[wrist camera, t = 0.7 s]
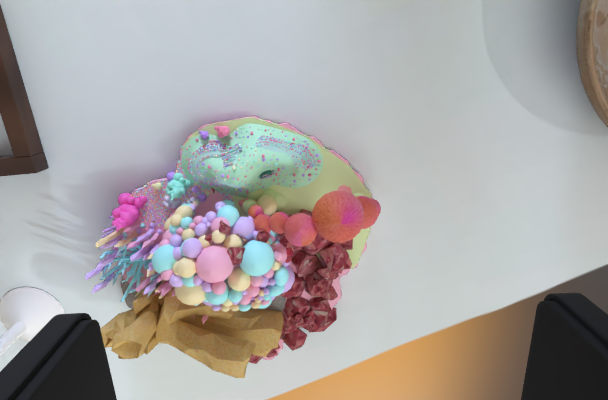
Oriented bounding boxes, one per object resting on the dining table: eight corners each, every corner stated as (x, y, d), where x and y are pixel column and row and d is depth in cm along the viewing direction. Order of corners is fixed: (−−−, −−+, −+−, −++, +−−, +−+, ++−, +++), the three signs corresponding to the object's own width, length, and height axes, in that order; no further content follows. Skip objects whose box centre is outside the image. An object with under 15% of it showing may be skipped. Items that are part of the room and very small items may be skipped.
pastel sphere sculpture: (315, 371, 44) (321, 447, 35) (97, 320, 41) (44, 388, 33) (397, 156, 37) (430, 184, 28) (139, 77, 34) (85, 81, 25)
